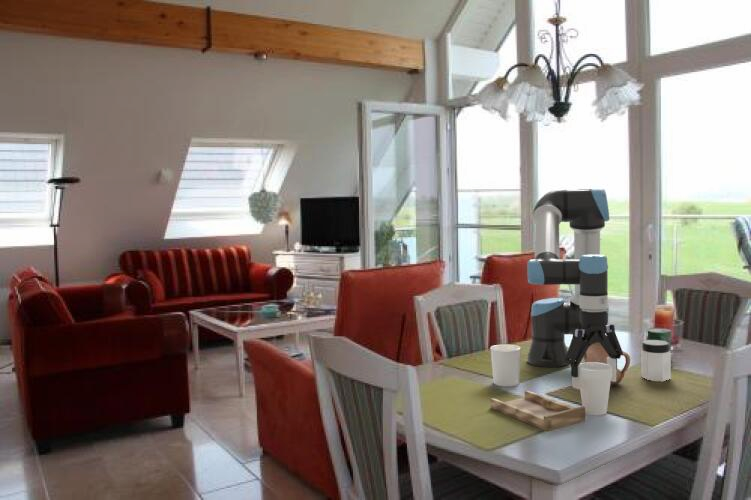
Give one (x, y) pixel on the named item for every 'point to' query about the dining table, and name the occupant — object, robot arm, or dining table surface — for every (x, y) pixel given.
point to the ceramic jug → (605, 359)
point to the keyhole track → (540, 411)
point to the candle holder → (505, 364)
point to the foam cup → (595, 387)
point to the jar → (655, 360)
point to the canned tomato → (660, 335)
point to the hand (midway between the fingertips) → (594, 384)
